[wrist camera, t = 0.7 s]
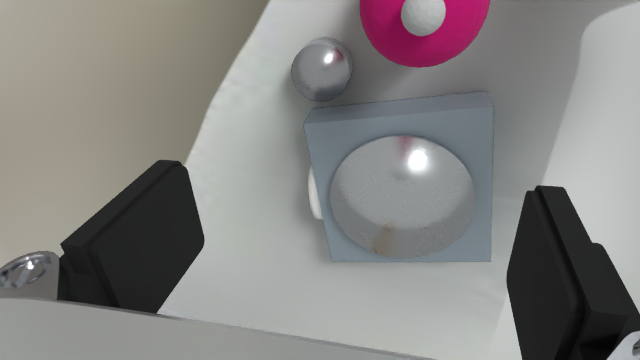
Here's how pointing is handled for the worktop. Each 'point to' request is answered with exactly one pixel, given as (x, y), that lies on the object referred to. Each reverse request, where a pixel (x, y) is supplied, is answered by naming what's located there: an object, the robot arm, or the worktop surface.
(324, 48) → the silver metal dome
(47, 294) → the robot arm
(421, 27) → the pepper mill
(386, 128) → the scale
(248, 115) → the worktop surface
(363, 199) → the pan
